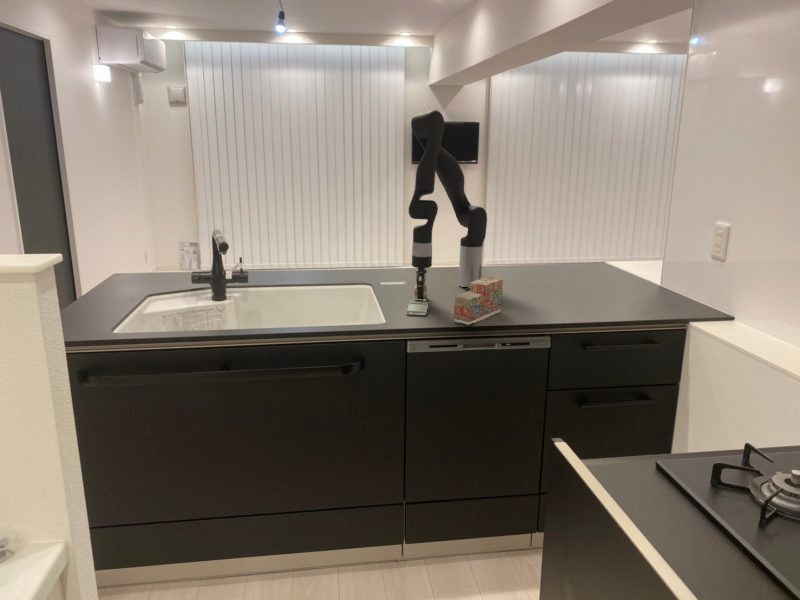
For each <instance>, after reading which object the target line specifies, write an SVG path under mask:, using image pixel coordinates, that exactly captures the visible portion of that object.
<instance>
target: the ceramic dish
mask: <svg viewBox="0 0 800 600" xmlns="http://www.w3.org/2000/svg"><path fill="white" fill-rule="evenodd" d="M428 305H429V306H430V304H429V302H428V301H414V300H413V301H412V300H411V301H409V303H408V306H407V310H406V312H407V313H409V312H413V313H426V311H423V310H420V309H426V308H425V307H427V308H428V309H429V307H428ZM422 307H424V308H422ZM417 309H418V310H417Z"/></svg>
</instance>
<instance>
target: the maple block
mask: <svg viewBox="0 0 800 600" xmlns="http://www.w3.org/2000/svg"><path fill="white" fill-rule="evenodd" d="M419 287H422V285H419ZM428 288H429V287H428V285H425V286H424V292H423V299H427V300H428ZM417 292H418V290H417V284H416V285H415V286H414V294H413V295H414V297H413V299H417Z"/></svg>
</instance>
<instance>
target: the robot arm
mask: <svg viewBox="0 0 800 600" xmlns="http://www.w3.org/2000/svg"><path fill="white" fill-rule="evenodd" d="M410 123H411V130H412V133H413V135H414V137H415V138H416V141H418V143H419V145H420V146H421V148H422V149H423V151H424V153H423V154H422V156H421V158H420V161H419V162H418V165H417V167H416V172H415V185H414V191H413V194H412V197H411V200H410V203H409V206H408V214H409V217H410V218H411V219H413V220H427V221H426V223H424V224H420V225H415V226H414V227H413V230H412V247H411V266H412V267H413V268H416V269H417V270H416V272H415V277H416V278H415V281H416V282H415V284H416V285H417V290H418V292H417V299H422V300H423V292H424V286H426V283H427V276H428V271H427V269H429V268H431V267H432V266H433V228H434V223H435V221H436V217H437V215H438V210H439V205H438V203H437V202H436V201H435V200H431V199H422V197H424V196H427V195H431V194H434V191H435V183H436V182H435V181H436V176H437V177H438V180H439V181H440V183H441V185H442V187H443V188H444V191H445V193H446V195H447V197H448V199H449V201H450V203H451V206H452V208H453V212H454V214H455V217H456V220H457V221H458V223H459V225H460V226H462V227H463V228H466V229H467V234H466V235H465V236H462V237H461V238H460V241H459V243H460V245H459V246H460V247H459V267H458V287H459V286H462V287H470V282H473V281H476V280H479V279H481V278H483V277H482V273H483V251H484V250H483V249H484V248H483V247H484V241H485V239H486V235H487V227H488V226H487V225H488V224H487V223H488V214H487V211H486V209H485V208H484V207H482V206H477V205H472V204H471V202H470V201H469V199H468V197H467V195H466V193H465V175H464V172H463V169H462V168H461V166H460V163H459V161H458V160H457V159H456V158H455V156H453V155H452V154H450V152H448V151H447V150H446V149H444V148H443V146H442V145H441V144H442V140H443V136H444V130H445V119H444V116H443V114H442V112H440V111H439V110H436V109H434V110H433V109H432V110H429V111H425V112H421V113H417V114H414V115H413V117H412V118H411V122H410ZM419 285H422V287H419ZM462 287H461V288H462Z"/></svg>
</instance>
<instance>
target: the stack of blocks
mask: <svg viewBox="0 0 800 600" xmlns="http://www.w3.org/2000/svg"><path fill="white" fill-rule="evenodd" d="M503 281H504V280H503V278H495V277H491V276H490V277H489V276H486V277H482V278H481V279H479V280H476V281H473V282H470V289H469V291H466V292H463V293H461V294H458V295H455V297H454V305H453V309H454V311H453V313H454V314H453V320H454V319H457V320H462V321H465V322H471V321H473V320H476V319H478V318H480V317H482V316H484V315H487V314H490V313H492V312H494V311H497V310H499V309H501V310H502V298H503V285H504V282H503Z"/></svg>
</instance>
